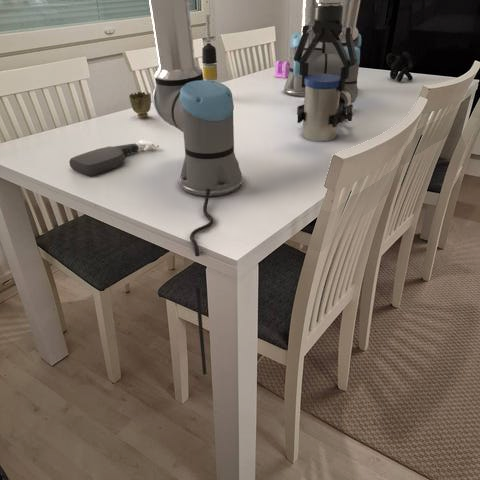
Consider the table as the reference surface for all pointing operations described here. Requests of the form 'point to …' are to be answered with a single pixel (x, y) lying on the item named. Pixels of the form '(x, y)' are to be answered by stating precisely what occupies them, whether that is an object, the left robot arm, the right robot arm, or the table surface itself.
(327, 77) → the lid
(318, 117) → the jar
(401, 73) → the squiggle
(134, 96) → the cup
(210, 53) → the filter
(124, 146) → the spray bottle
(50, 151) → the table surface
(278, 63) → the bracket
